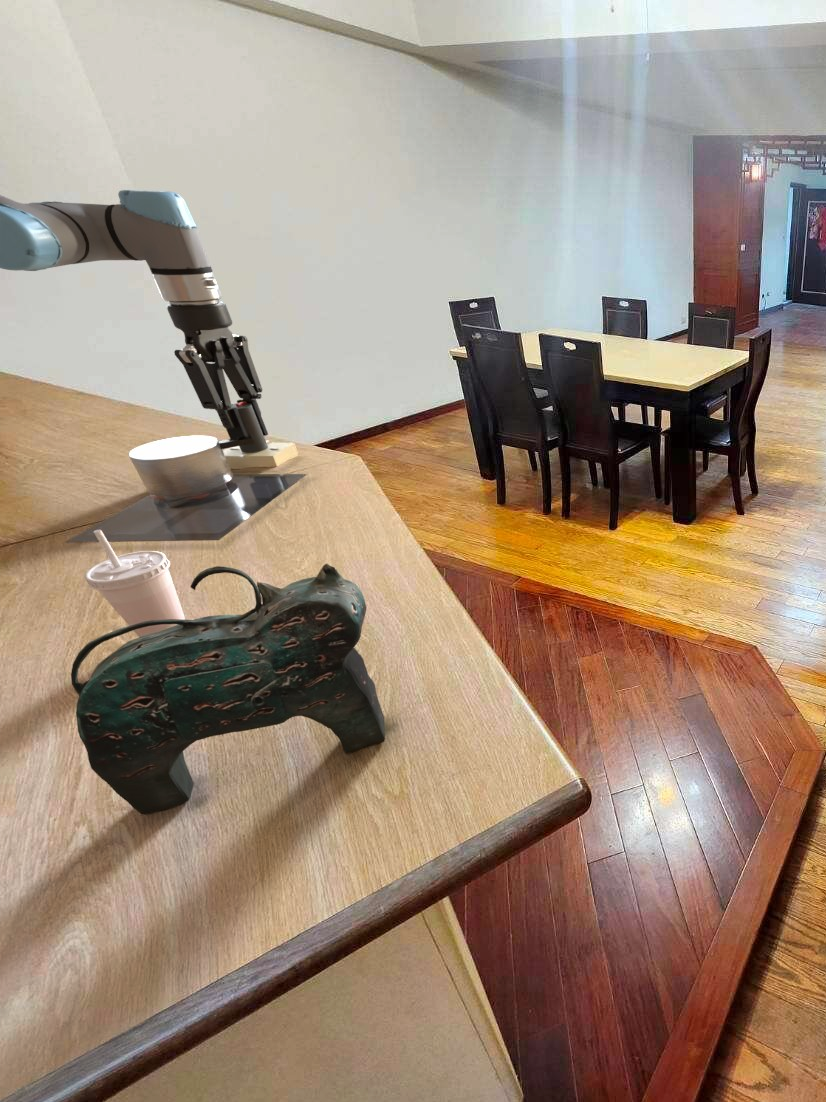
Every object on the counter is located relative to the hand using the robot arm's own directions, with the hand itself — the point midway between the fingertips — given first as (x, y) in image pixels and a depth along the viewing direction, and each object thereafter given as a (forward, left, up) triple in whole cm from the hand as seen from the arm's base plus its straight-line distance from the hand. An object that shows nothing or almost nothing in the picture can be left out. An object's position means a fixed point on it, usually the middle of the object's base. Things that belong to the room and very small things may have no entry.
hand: (250, 439), depth 107 cm
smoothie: (+20, -53, -5) cm, 57 cm away
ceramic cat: (+42, -72, -5) cm, 83 cm away
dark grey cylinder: (0, 0, -2) cm, 2 cm away
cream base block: (0, 0, -4) cm, 4 cm away
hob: (+2, -19, -4) cm, 20 cm away
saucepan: (-1, -11, -4) cm, 12 cm away
